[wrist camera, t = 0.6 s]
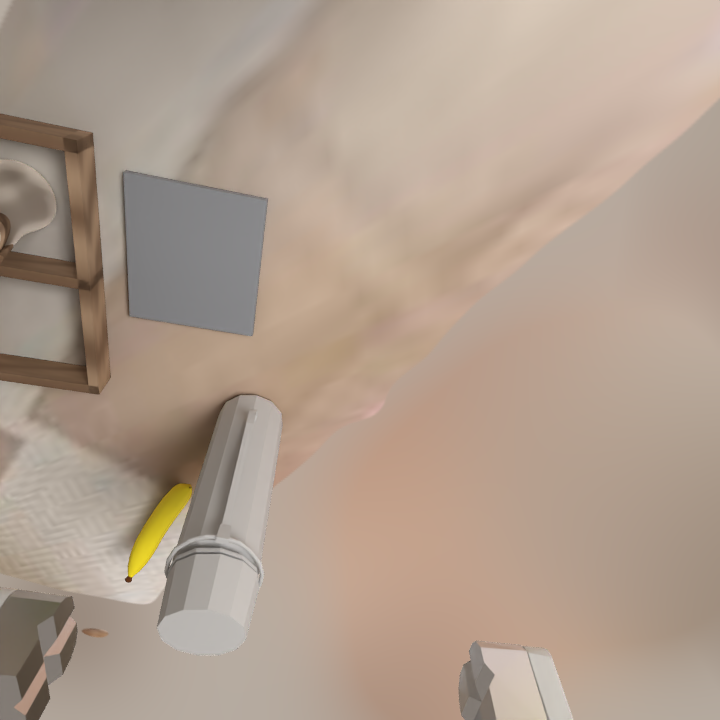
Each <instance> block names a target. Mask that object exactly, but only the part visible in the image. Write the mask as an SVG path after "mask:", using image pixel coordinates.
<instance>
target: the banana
mask: <svg viewBox="0 0 720 720" xmlns="http://www.w3.org/2000/svg"><path fill="white" fill-rule="evenodd" d="M191 495H192V487H191V485H190V484H183V483H182V484H177V485H176V486H174V487H173V488H172V489H171V490H170V491H169V492H168V493H167V494H166V495H165V496H164V497H163V499H162V500H161V501H160V502H159V504H158V505H157V507H156V508H155V510H154V511H153V513H152V514H151V516H150V517H149V519H148V520H147V522H146V523H145V525H144V527H143V528H142V530H141V532H140V534H139V535H138V537H137V539H136V541H135V543H134V546H133V548H132V551H131V554H130V557H129V563H128V576H127V578H125V581H126V582H128V583H129V582H131V581H132V577H133V576H134V575H135V574H137V573H138V572H139V571H140V570H141V569H142V568H143V567H144V566H145V565H146V563H147V562H148V561H149V559H150V558H151V557H152V555H153V553H154V552H155V550H156V549H157V547H158V545H159V543H160V542H161V540H162V538H163V536H164V535H165V533H166V532H167V530H168V529H169V527H170V526H171V524H172V523H173V521H174V520H175V518H176V517H177V516H178V514H179V513H180V512H181V510H182V509H183V508H184V506H185V505H186V504H187V502H188V501H189V499H190V497H191Z"/></svg>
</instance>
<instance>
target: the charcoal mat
mask: <svg viewBox="0 0 720 720" xmlns="http://www.w3.org/2000/svg"><path fill="white" fill-rule="evenodd" d="M123 175H124V198H125V221H126V244H127V266H128V289H129V312H130V316H132V317H138V318H144V319H150V320H156V321H162V322H168V323H174V324H180V325H186V326H192V327H199V328H205V329H211V330H217V331H223V332H229V333H235V334H241V335H247V336H252V335H253V330H254V321H255V312H256V303H257V293H258V284H259V275H260V266H261V257H262V248H263V239H264V230H265V220H266V211H267V202H268V199H267V198H262V197H257V196H252V195H247V194H242V193H237V192H232V191H227V190H222V189H217V188H212V187H207V186H202V185H197V184H192V183H187V182H182V181H177V180H172V179H167V178H162V177H157V176H152V175H147V174H142V173H137V172H132V171H127V170H126V171H124V172H123Z"/></svg>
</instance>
